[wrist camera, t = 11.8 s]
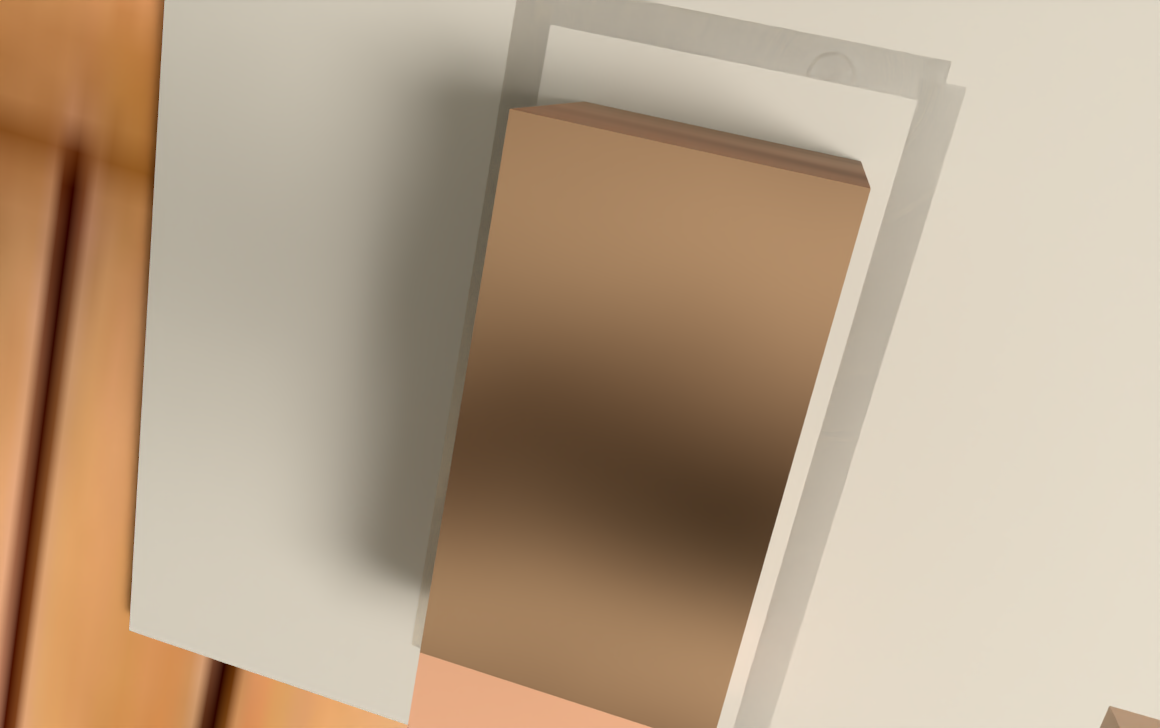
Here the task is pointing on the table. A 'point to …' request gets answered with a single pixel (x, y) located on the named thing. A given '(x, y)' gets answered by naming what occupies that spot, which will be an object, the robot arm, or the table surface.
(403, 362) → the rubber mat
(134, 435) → the table surface
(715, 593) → the walnut block
